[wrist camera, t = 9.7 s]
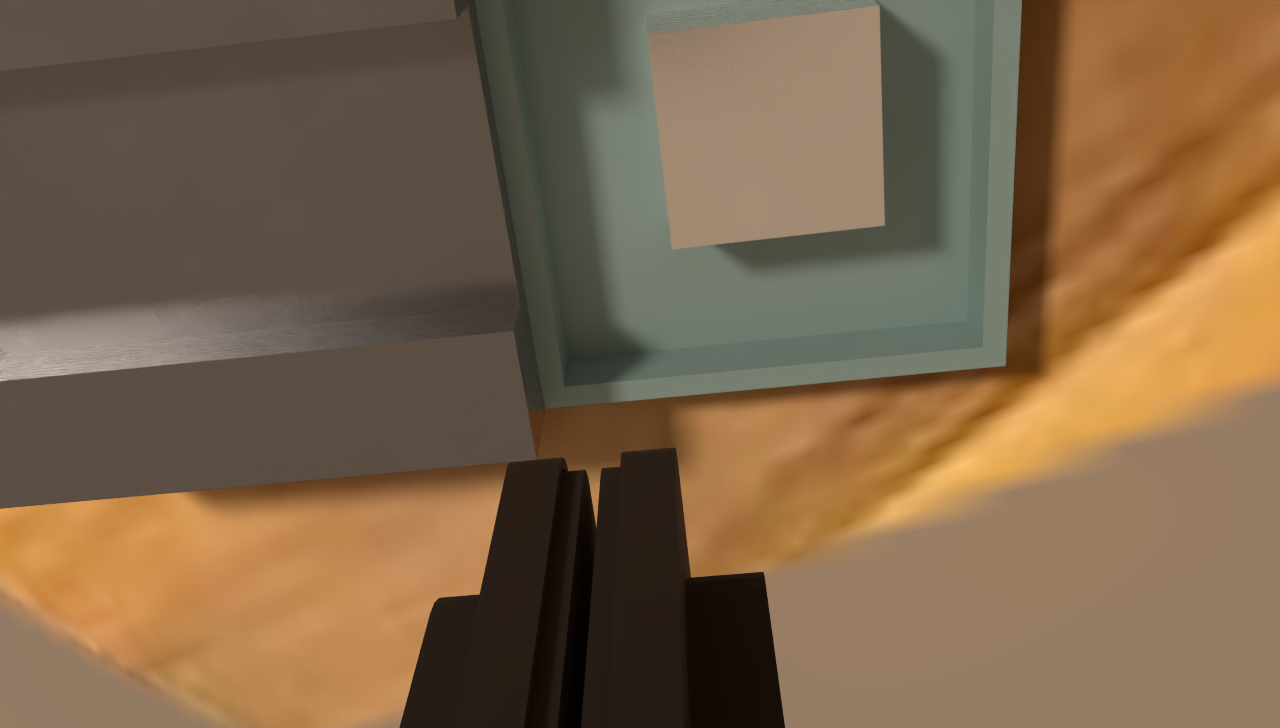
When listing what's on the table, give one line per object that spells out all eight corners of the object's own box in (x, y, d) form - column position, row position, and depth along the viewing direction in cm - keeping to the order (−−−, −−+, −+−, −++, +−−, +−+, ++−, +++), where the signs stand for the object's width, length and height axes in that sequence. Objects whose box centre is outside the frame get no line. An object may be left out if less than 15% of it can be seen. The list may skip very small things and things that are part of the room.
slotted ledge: (458, -180, 25) (422, -174, 21) (550, 373, 31) (536, 459, 27) (-142, -106, 26) (-288, -85, 22) (68, 419, 32) (-15, 509, 28)
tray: (1004, -248, 24) (1032, -251, 22) (985, 332, 31) (1005, 365, 29) (458, -180, 25) (444, -178, 23) (550, 373, 31) (544, 409, 29)
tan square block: (646, 34, 24) (647, 13, 26) (672, 249, 26) (670, 213, 29) (879, 5, 24) (860, -14, 26) (884, 225, 26) (866, 191, 28)
